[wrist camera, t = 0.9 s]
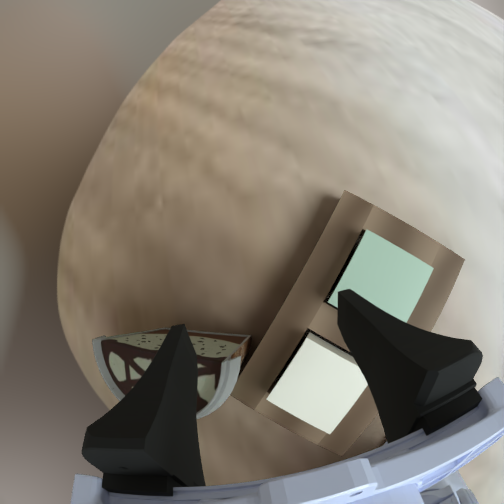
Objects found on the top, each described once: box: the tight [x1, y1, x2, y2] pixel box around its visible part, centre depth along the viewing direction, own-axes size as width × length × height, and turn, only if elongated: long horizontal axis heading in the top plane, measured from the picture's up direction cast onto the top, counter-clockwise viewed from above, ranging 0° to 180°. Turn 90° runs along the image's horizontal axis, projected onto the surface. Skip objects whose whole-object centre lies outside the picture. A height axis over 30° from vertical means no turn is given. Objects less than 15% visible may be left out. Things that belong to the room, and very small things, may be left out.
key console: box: [230, 190, 465, 456], centre depth 23 cm, size 12×20×3 cm, turn 150°
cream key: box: [266, 332, 368, 434], centre depth 21 cm, size 6×6×2 cm
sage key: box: [328, 230, 434, 323], centre depth 21 cm, size 6×6×2 cm
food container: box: [92, 327, 252, 419], centre depth 23 cm, size 12×6×10 cm, turn 90°
